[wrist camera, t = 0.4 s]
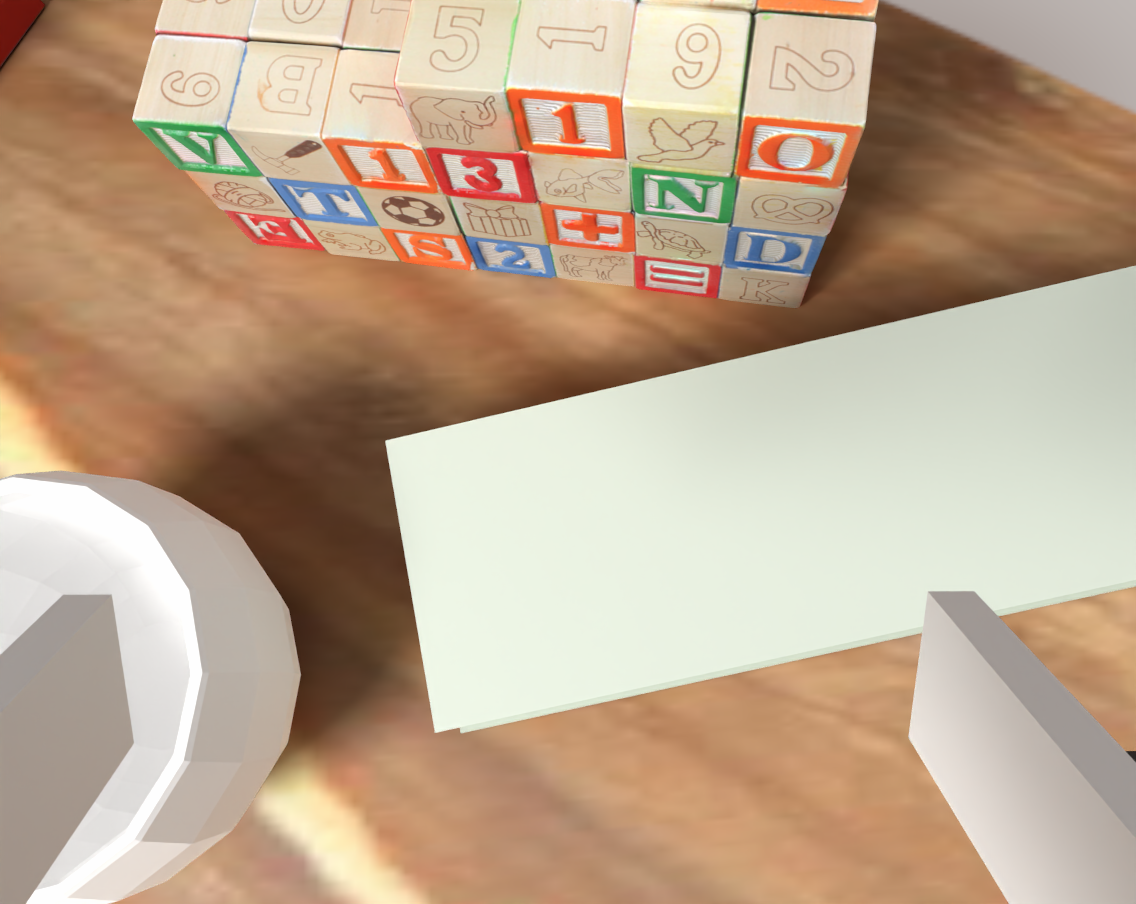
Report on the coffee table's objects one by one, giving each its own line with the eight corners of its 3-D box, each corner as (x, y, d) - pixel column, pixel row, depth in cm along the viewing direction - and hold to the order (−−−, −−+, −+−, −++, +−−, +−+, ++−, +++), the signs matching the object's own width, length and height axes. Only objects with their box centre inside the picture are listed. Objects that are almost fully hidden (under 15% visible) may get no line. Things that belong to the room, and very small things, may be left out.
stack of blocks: (251, 250, 39) (64, 57, 27) (286, 108, 40) (122, -137, 28) (803, 310, 36) (871, 124, 24) (821, 155, 37) (893, -95, 25)
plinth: (1183, 575, 32) (1275, 557, 27) (464, 732, 33) (429, 741, 29) (1087, 314, 34) (1156, 254, 30) (417, 469, 36) (377, 436, 31)
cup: (-28, 604, 36) (-272, 577, 27) (271, 456, 36) (133, 378, 27) (75, 934, 33) (-159, 1034, 24) (402, 771, 33) (297, 806, 24)
